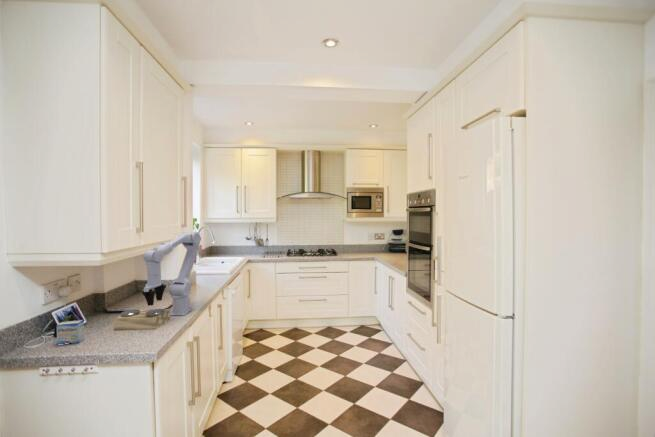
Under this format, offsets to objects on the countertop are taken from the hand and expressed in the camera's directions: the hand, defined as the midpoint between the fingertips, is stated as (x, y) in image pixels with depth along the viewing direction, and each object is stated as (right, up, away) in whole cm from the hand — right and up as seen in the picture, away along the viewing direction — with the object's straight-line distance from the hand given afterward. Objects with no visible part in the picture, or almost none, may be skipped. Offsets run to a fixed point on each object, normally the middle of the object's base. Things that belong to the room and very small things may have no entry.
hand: (155, 302), depth 147 cm
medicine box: (-24, -12, -19) cm, 33 cm away
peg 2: (0, -9, 0) cm, 9 cm away
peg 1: (-12, -9, 0) cm, 15 cm away
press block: (-6, -11, 0) cm, 12 cm away
